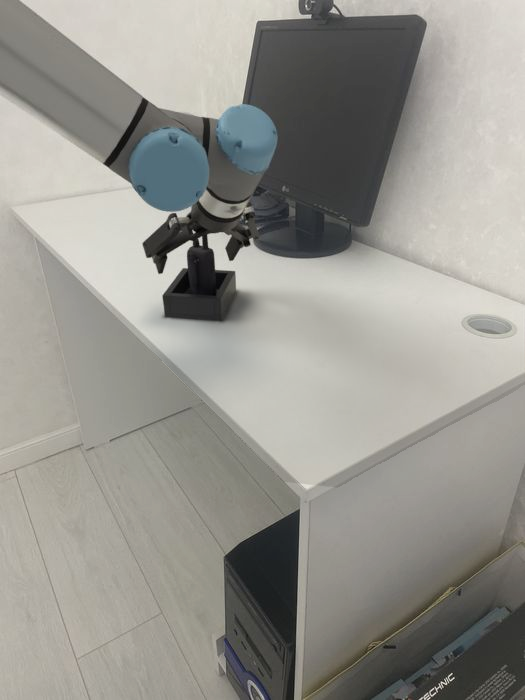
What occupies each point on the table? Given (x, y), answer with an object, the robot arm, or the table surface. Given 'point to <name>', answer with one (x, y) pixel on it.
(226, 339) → the table surface
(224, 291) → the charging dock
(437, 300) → the table surface
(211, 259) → the two-way radio
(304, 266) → the table surface
